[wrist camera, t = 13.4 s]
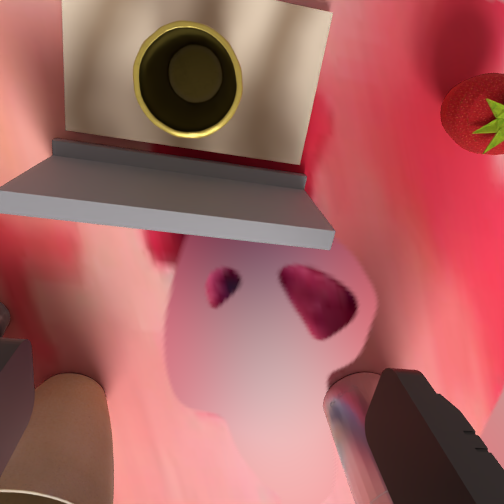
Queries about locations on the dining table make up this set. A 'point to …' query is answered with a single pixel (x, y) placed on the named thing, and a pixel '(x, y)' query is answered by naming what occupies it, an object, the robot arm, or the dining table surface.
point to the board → (242, 42)
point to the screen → (168, 195)
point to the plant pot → (63, 447)
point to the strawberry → (476, 114)
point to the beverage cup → (3, 319)
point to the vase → (187, 79)
